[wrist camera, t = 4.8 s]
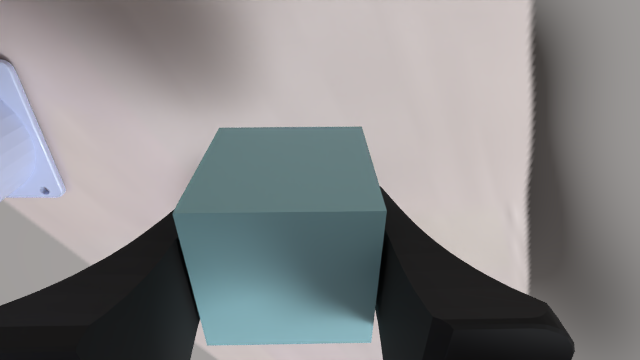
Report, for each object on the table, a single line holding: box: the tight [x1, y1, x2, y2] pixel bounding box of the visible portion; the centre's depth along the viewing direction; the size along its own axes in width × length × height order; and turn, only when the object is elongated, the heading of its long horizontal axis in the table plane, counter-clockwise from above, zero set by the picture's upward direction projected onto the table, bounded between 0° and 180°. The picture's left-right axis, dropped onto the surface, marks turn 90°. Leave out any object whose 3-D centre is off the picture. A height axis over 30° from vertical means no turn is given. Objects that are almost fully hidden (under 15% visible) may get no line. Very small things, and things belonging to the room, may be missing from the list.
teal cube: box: [172, 127, 387, 345], centre depth 12 cm, size 5×5×5 cm
